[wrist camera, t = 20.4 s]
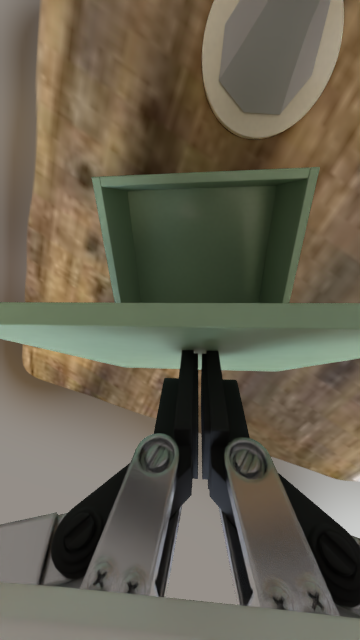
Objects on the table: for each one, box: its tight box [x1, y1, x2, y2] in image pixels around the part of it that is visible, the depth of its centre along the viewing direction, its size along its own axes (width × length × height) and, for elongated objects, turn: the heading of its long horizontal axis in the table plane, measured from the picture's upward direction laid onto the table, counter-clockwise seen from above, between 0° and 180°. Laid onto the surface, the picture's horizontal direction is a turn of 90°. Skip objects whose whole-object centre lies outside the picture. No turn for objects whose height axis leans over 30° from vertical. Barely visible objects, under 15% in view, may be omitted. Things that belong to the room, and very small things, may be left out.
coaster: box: [202, 0, 344, 139], centre depth 16 cm, size 10×10×1 cm
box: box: [92, 167, 320, 303], centre depth 21 cm, size 16×15×7 cm
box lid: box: [0, 302, 360, 371], centre depth 14 cm, size 17×15×1 cm
